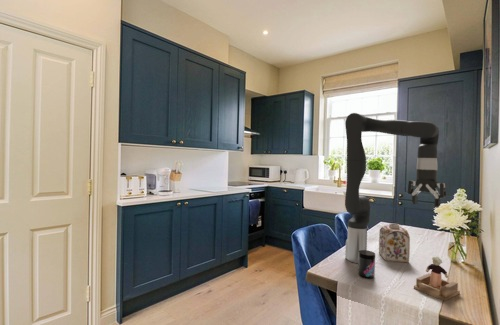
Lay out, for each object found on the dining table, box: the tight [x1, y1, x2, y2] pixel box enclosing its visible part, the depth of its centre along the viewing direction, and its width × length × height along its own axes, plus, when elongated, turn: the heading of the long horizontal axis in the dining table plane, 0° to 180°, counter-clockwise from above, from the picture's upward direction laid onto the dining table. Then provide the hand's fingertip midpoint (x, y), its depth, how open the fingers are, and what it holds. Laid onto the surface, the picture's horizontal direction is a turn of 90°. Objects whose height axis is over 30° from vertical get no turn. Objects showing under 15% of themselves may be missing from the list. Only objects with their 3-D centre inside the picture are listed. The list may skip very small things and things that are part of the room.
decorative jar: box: [378, 222, 411, 263], centre depth 139 cm, size 12×12×18 cm
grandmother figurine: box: [425, 255, 449, 290], centre depth 104 cm, size 8×4×13 cm, turn 45°
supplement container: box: [357, 249, 376, 280], centre depth 116 cm, size 7×7×10 cm
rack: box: [413, 272, 461, 302], centre depth 104 cm, size 11×12×4 cm
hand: (425, 205), depth 114 cm, fingers open, 8 cm apart
